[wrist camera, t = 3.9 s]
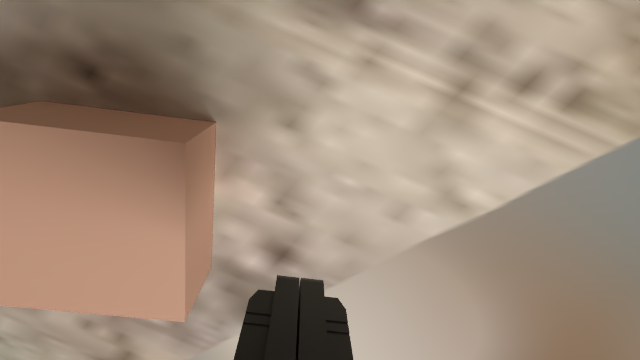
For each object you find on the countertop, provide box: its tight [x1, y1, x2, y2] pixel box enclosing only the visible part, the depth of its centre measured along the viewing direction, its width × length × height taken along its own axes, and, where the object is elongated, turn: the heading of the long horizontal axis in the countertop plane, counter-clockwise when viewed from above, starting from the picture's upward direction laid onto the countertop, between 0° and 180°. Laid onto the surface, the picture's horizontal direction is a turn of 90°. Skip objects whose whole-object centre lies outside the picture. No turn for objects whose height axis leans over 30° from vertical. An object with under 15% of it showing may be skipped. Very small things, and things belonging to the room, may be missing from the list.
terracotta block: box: [0, 101, 216, 322], centre depth 16 cm, size 8×8×4 cm
